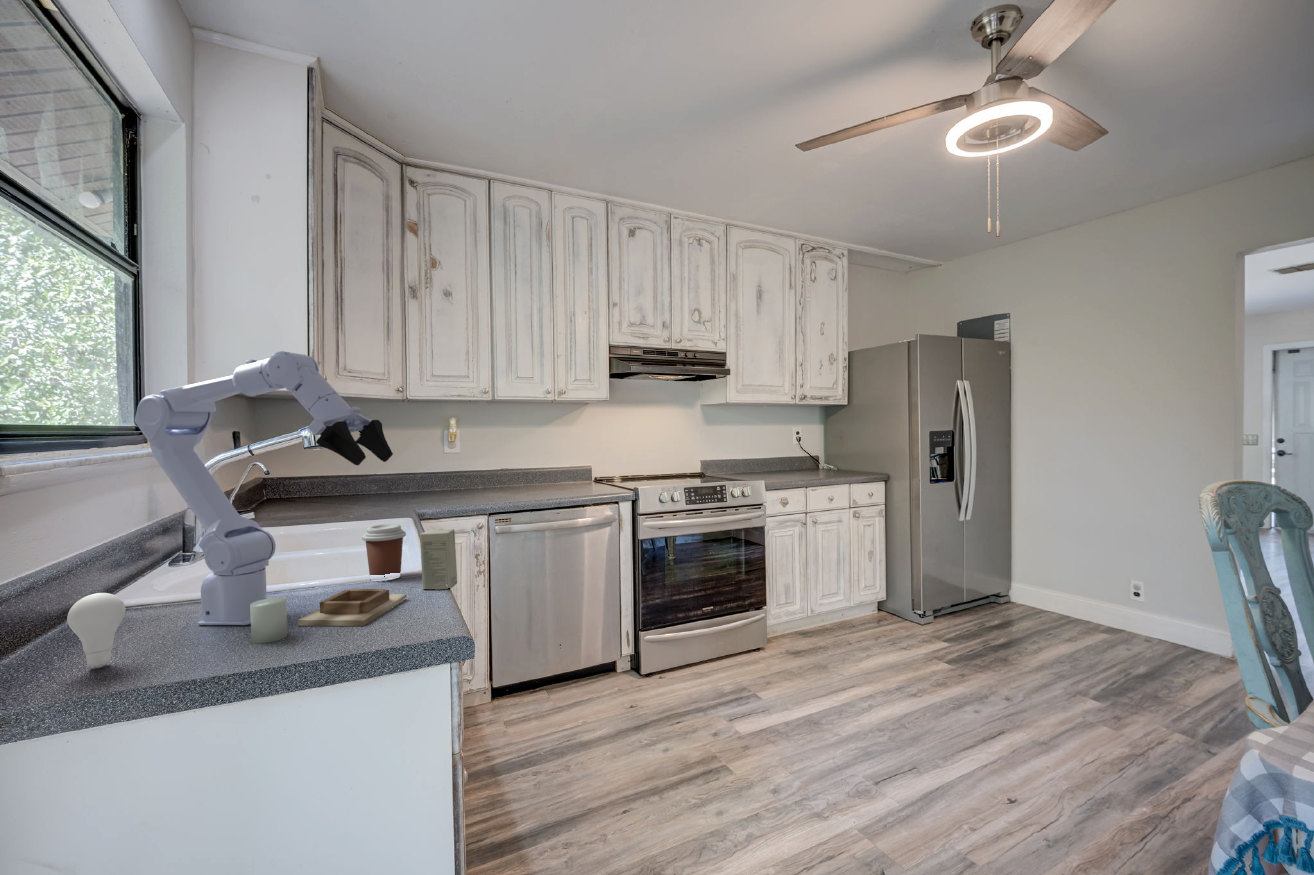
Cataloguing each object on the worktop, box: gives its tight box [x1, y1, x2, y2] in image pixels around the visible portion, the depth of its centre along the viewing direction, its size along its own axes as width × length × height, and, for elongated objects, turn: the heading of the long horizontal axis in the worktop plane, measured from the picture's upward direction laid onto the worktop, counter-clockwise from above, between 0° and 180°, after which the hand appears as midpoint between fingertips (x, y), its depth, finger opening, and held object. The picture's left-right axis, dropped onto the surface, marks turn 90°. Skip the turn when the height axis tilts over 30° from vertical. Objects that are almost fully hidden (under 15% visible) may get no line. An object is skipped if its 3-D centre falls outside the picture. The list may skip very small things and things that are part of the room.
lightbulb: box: [66, 592, 126, 669], centre depth 83 cm, size 6×6×11 cm
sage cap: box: [250, 597, 289, 644], centre depth 94 cm, size 5×5×6 cm
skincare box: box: [419, 528, 458, 590], centre depth 122 cm, size 6×4×12 cm
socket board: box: [297, 588, 407, 627], centre depth 107 cm, size 12×15×3 cm
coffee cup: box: [361, 523, 407, 577], centre depth 130 cm, size 9×9×12 cm
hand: (375, 459), depth 100 cm, fingers open, 7 cm apart
